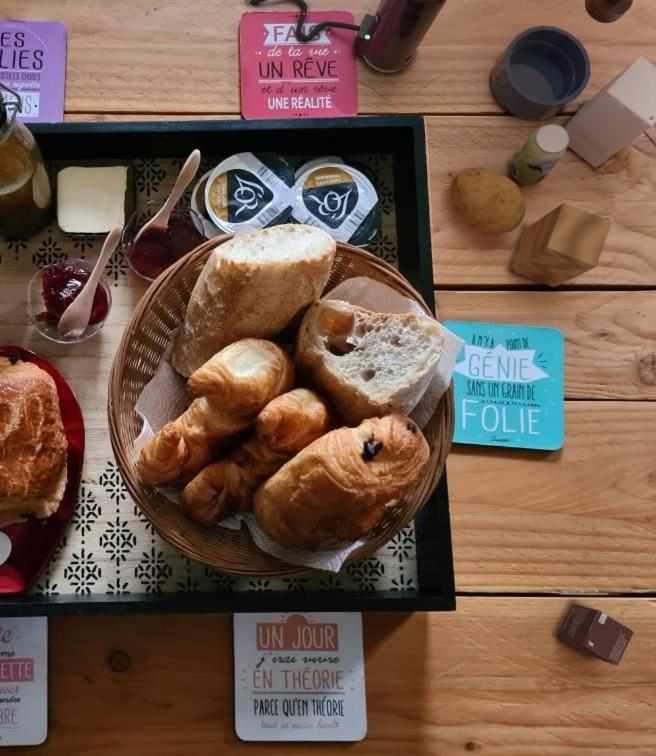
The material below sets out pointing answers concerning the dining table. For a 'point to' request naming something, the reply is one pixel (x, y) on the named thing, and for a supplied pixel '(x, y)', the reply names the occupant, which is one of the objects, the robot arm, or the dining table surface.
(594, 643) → the box
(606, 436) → the dining table surface
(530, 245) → the wooden block
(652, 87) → the rectangular carton
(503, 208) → the potato
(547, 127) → the beverage can
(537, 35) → the bowl
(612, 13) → the brown rod with disc
